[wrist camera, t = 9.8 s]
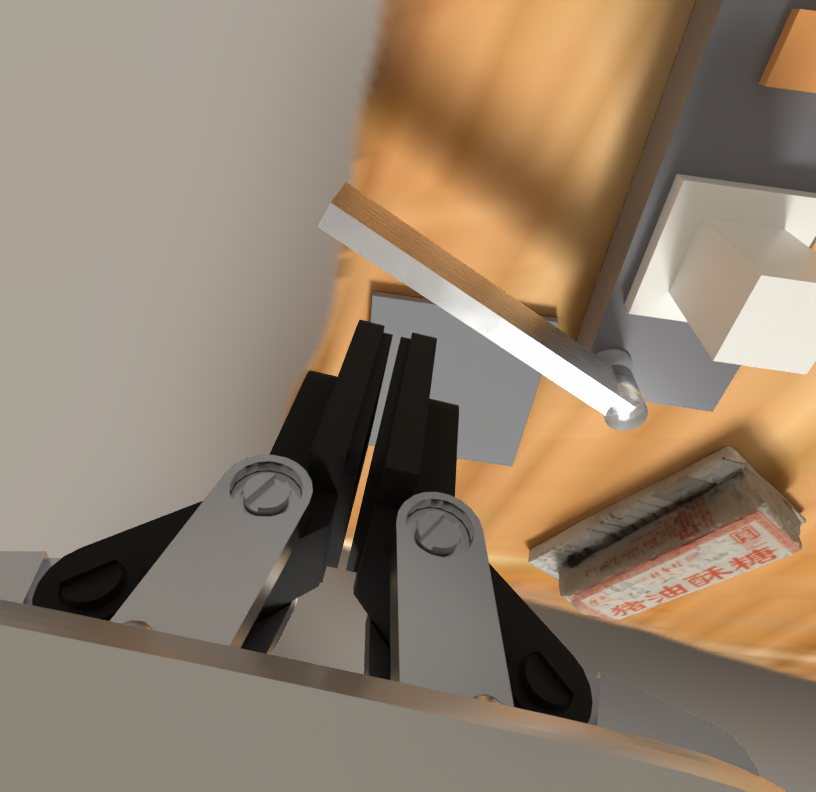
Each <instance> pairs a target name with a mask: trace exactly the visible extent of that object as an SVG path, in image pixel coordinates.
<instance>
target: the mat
mask: <svg viewBox="0 0 816 792" xmlns="http://www.w3.org/2000/svg"><path fill="white" fill-rule="evenodd" d="M539 316H541V317H542V318H544V319H545V320H547V321H548V322H550V323H551V324H552V325H554V326H555V327H557V326H558V323H559V322H558V318H557V317H550V316H543V315H539ZM371 322H372V323H376V324H380V325H384V326H385V328H384V333H388V334H393V337H392V342H391V346H390V351H389V355H388V360H387V364H386V369H385V373H384V378H383V383H382V387H381V392H380V396H379V401H378V405H377V410H376V414H375V419H374V423H373V428H372V432H371V436H370V440H369V444H368V445H372V446H375V444H376V440H377V436H378V431H379V427H380V423H381V419H382V415H383V410H384V406H385V402H386V398H387V393H388V389H389V385H390V381H391V377H392V372H393V368H394V364H395V360H396V355H397V351H398V347H399V343H400V339H401V337H405V338H409V339H411V335H412V332H413V333H418V334H422V335H426V336H430V337H434V338H437V344H436V352H435V359H434V367H433V375H432V382H431V390H430V399H434V400H439V401H443V402H447V403H451V404H456V405H458V406H459V425H458V443H457V458H459V459H465V460H472V461H479V462H485V463H492V464H499V465H505V466H513V462H514V459H515V456H516V453H517V450H518V447H519V444H520V441H521V438H522V435H523V431H524V428H525V425H526V422H527V419H528V416H529V413H530V410H531V407H532V403H533V400H534V397H535V394H536V391H537V388H538V385H539V382H540V379H541V376H542V373H540V372H539V371H537V370H536V369H534V368H532V367H531V366H529V365H528V364H526V363H525V362H523V361H522V360H520V359H519V358H517V357H516V356H514V355H513V354H511V353H510V352H508V351H506V350H505V349H503V348H502V347H500V346H499V345H497V344H496V343H494V342H493V341H491V340H490V339H488V338H487V337H485V336H483V335H482V334H480V333H479V332H477V331H476V330H474V329H473V328H471V327H470V326H468V325H467V324H465V323H464V322H462V321H461V320H459V319H457V318H456V317H454V316H453V315H451V314H450V313H448V312H447V311H445V310H444V309H442V308H441V307H439V306H438V305H436V304H435V303H433V302H431V301H430V300H428V299H425V298H418V297H412V296H405V295H398V294H391V293H384V292H377V291H374V293H373V295H372V309H371Z"/></svg>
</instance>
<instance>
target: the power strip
mask: <svg viewBox="0 0 816 792" xmlns="http://www.w3.org/2000/svg"><path fill="white" fill-rule="evenodd" d="M676 174H681V175H689V176H696V177H703V178H710V179H718V180H725V181H732V182H739V183H747V184H754V185H761V186H769V187H776V188H783V189H790V190H798V191H805V192H812V193H816V0H696V2H695V5H694V8H693V11H692V14H691V17H690V19H689V22H688V25H687V28H686V31H685V34H684V36H683V39H682V42H681V45H680V48H679V50H678V53H677V56H676V59H675V62H674V65H673V67H672V70H671V73H670V76H669V79H668V81H667V84H666V87H665V90H664V93H663V96H662V98H661V101H660V104H659V107H658V110H657V113H656V115H655V118H654V121H653V124H652V127H651V129H650V132H649V135H648V138H647V141H646V144H645V146H644V149H643V152H642V155H641V158H640V161H639V163H638V166H637V169H636V172H635V175H634V177H633V180H632V183H631V186H630V189H629V192H628V194H627V197H626V200H625V203H624V206H623V209H622V211H621V214H620V217H619V220H618V223H617V225H616V228H615V231H614V234H613V237H612V240H611V242H610V245H609V248H608V251H607V254H606V256H605V259H604V262H603V265H602V268H601V271H600V273H599V276H598V279H597V282H596V285H595V288H594V290H593V293H592V296H591V299H590V302H589V304H588V307H587V310H586V313H585V316H584V319H583V321H582V324H581V327H580V330H579V333H578V336H577V338H576V341H577V342H579V343H580V344H581V345H583V346H584V347H586V348H587V349H589V350H590V351H592V352H593V353H594V354H596V355H597V356H599V357H600V358H602V359H603V360H605V361H606V362H608V363H609V364H610V365H623V366H626V367H628V368H629V369H630V370H631V371H632V373H633V375H634V378H635V380H636V383H637V385H638V387H639V390H640V392H641V395H642V397H643V400H644V402H650V403H657V404H664V405H671V406H678V407H684V408H691V409H698V410H705V411H712V412H713V410H714V409H715V407H716V405H717V404H718V402H719V400H720V399H721V397H722V395H723V394H724V392H725V390H726V389H727V387H728V385H729V384H730V382H731V380H732V379H733V377H734V375H735V374H736V372H737V371H738V369H739V367H740V366H741V365H737V364H730V363H724V362H717V361H713V360H712V358H711V357H710V355H709V354H708V352H707V351H706V349H705V348H704V346H703V345H702V343H701V342H700V340H699V338H698V337H697V335H696V334H695V332H694V331H693V329H692V328H691V326H690V325H689V323H688V322H683V321H676V320H669V319H662V318H655V317H648V316H641V315H634V314H629V313H628V311H627V309H626V307H625V305H624V304H625V301H626V299H627V296H628V294H629V291H630V289H631V286H632V284H633V282H634V279H635V277H636V274H637V272H638V269H639V267H640V264H641V262H642V259H643V257H644V254H645V252H646V249H647V247H648V244H649V242H650V239H651V237H652V234H653V232H654V229H655V227H656V224H657V222H658V219H659V217H660V214H661V212H662V209H663V207H664V204H665V202H666V199H667V197H668V194H669V192H670V189H671V187H672V184H673V182H674V179H675V177H676ZM815 241H816V236H815V238H814V240H813V241H812V243H811V245H810V246H809V248H810V249H811V248H812V246H813V245H814V243H815Z"/></svg>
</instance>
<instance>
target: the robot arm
mask: <svg viewBox="0 0 816 792" xmlns="http://www.w3.org/2000/svg"><path fill="white" fill-rule="evenodd" d="M384 328H385V326H384V325H380V324H376V323H372V322H367V321H363V320H359V322H358V325H357V327H356V330H355V333H354V335H353V338H352V341H351V343H350V346H349V349H348V351H347V354H346V357H345V359H344V362H343V364H342V367H341V370H340V372H339V375H338V377H336V376H332V375H328V374H323V373H319V372H315V371H311V370H310V371H309V372H308V373H307V375H306V377H305V379H304V381H303V383H302V386H301V388H300V390H299V392H298V394H297V396H296V399H295V401H294V403H293V405H292V407H291V409H290V411H289V414H288V416H287V418H286V420H285V422H284V424H283V427H282V429H281V431H280V433H279V435H278V437H277V440H276V442H275V444H274V446H273V448H272V451H271V453H270V455H258V456H253V457H250V458H246V459H244V460H242V461H240V462H238V463H236V464H234V465H233V466H232V467H231V468H230V469H229V470H228V471H227V472H226V473H225V474H224V475H223V477H222V478H221V479H220V480H219V482H218V483H217V484H216V486H215V487H214V488H213V489H212V491H211V492H210V493H209V494H208V496H207V497H206V498H205V500H204V501H201V502H199V503H196V504H194V505H191V506H188V507H186V508H183V509H181V510H178V511H175V512H173V513H170V514H168V515H165V516H162V517H160V518H157V519H155V520H152V521H150V522H147V523H144V524H142V525H139V526H137V527H134V528H132V529H129V530H126V531H124V532H121V533H118V534H116V535H113V536H111V537H108V538H106V539H103V540H100V541H98V542H95V543H93V544H90V545H87V546H85V547H82V548H80V549H78V550H76V551H74V552H72V553H70V554H68V555H66V556H64V557H63V558H48V555H47V553H46V552H12V551H11V552H8V551H4V552H3V551H0V792H786V791H785V790H783V789H781V788H779V787H778V786H776V785H774V784H772V783H771V782H769V781H767V780H765V779H763V778H761V777H760V776H759V773H758V770H757V768H756V767H755V765H754V763H753V762H752V760H751V759H750V757H749V755H748V753H747V752H746V751H745V749H744V748H743V747H742V746H741V745H740V744H739V743H738V742H737V741H736V740H735V739H734V738H733V737H732V736H731V735H730V734H728V733H727V732H725V731H724V730H722V729H721V728H719V727H718V726H716V725H715V724H712V723H710V722H708V721H706V720H704V719H701V718H699V717H697V716H695V715H693V714H691V713H688V712H686V711H684V710H682V709H680V708H678V707H675V706H673V705H671V704H669V703H667V702H665V701H662V700H660V699H658V698H656V697H654V696H652V695H649V694H647V693H645V692H643V691H641V690H639V689H636V688H634V687H632V686H630V685H628V684H625V683H623V682H621V681H619V680H617V679H615V678H612V677H610V676H608V675H606V674H604V673H602V672H600V673H599V674H598V675H597V676H596V677H595V676H593V675H590V674H589V673H587V672H585V671H584V670H583V668H582V667H581V666H580V664H579V663H578V661H577V660H576V659H575V657H574V656H573V655H572V654H571V653H570V651H569V650H568V649H567V648H566V647H565V646H564V645H563V644H562V643H561V642H560V641H559V639H558V638H557V637H556V636H555V635H554V634H553V633H552V632H551V631H550V630H549V628H548V627H547V626H546V625H545V624H544V623H543V622H542V621H541V620H540V619H539V617H538V616H537V615H536V614H535V613H534V612H533V611H532V610H531V609H530V608H529V606H528V605H527V604H526V603H525V602H524V601H523V600H522V599H521V598H520V597H519V595H518V594H517V593H516V592H515V591H514V590H513V589H512V588H511V587H510V586H509V585H508V583H507V582H506V581H505V580H504V579H503V578H502V577H501V576H500V575H499V574H498V572H497V571H496V570H495V569H494V568H493V567H492V566H491V565H490V564H489V562H488V556H487V550H486V545H485V539H484V533H483V529H482V526H481V523H480V521H479V519H478V517H477V516H476V515H475V513H474V512H473V510H472V509H471V508H470V507H468V506H467V505H466V504H465V503H464V502H462V501H461V500H459V499H457V498H455V481H456V462H457V443H458V425H459V406H458V405H456V404H451V403H447V402H443V401H439V400H434V399H430V390H431V382H432V375H433V367H434V359H435V352H436V344H437V338H434V337H430V336H426V335H422V334H418V333H413V332H412V335H411V339H409V338H405V337H401V339H400V343H399V347H398V351H397V355H396V360H395V364H394V368H393V372H392V377H391V381H390V385H389V389H388V393H387V398H386V402H385V406H384V410H383V415H382V419H381V423H380V427H379V431H378V436H377V440H376V444H375V448H374V452H373V457H372V461H371V465H370V470H369V474H368V478H367V482H366V487H365V491H364V495H363V500H362V504H361V508H360V513H359V517H358V521H357V525H356V530H355V534H354V538H353V543H352V547H351V551H350V556H349V560H348V565H347V569H346V570H348V571H352V572H356V573H357V575H356V579H355V584H354V588H353V589H354V595H355V597H356V598H357V599H358V601H359V602H360V604H361V605H362V606H363V608H364V609H365V611H366V612H367V617H366V622H365V654H364V675H363V674H358V673H353V672H349V671H344V670H339V669H335V668H330V667H325V666H321V665H316V664H311V663H307V662H301V661H297V660H292V659H288V658H282V657H278V656H274V655H272V654H273V653H274V650H275V648H276V646H277V644H278V642H279V640H280V638H281V636H282V634H283V632H284V630H285V628H286V626H287V623H288V621H289V619H290V617H291V615H292V613H293V611H294V609H295V606H296V603H297V600H298V597H300V596H302V595H303V594H305V593H307V592H309V591H311V590H312V589H314V588H316V587H318V586H319V584H320V582H322V581H323V577H324V573H325V570H326V566H329V567H333V568H337V567H338V563H339V559H340V555H341V551H342V547H343V543H344V539H345V536H346V532H347V528H348V524H349V520H350V516H351V512H352V508H353V504H354V500H355V496H356V492H357V488H358V484H359V480H360V476H361V472H362V468H363V464H364V460H365V456H366V452H367V448H368V444H369V440H370V436H371V432H372V428H373V423H374V419H375V414H376V410H377V405H378V401H379V396H380V392H381V387H382V383H383V378H384V373H385V369H386V364H387V360H388V355H389V351H390V346H391V342H392V337H393V334H388V333H384Z"/></svg>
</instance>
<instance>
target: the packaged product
mask: <svg viewBox="0 0 816 792" xmlns="http://www.w3.org/2000/svg"><path fill="white" fill-rule="evenodd" d="M805 522H806V519H805V518H804V517H803V516H802V515H801V514H800V513H799V512H798V511H797V510H796V509H795V508H794V506H793V505H792V504H791V503H790V502H789V501H788V500H787V499H786V498H785V497H784V496H783V495H782V494H781V493H780V492H779V491H778V490H777V489H775V488H774V487H773V486H772V485H771V484H770V483H769V482H767V481H766V480H765V479H764V478H763V477H761V476H760V475H759V474H758V473H757V471H756V470H755V469H754V468H753V467H752V466H751V465H750V464H749V463H748V462H747V461H746V460H745V459H744V458H743V457H742V456H741V455H740V454H739V453H738V452H737V451H736V450H735V449H733V448H732V447H731V446H726V447H724V448H722V449H720V450H718V451H716V452H714V453H712V454H711V455H709V456H707V457H705V458H703V459H701V460H699V461H698V462H696V463H694V464H692V465H690V466H689V467H687V468H684V469H682V470H680V471H678V472H676V473H674V474H672V475H670V476H668V477H666V478H664V479H662V480H660V481H658V482H656V483H654V484H651V485H649V486H647V487H646V488H644V489H642V490H640V491H638V492H636V493H634V494H632V495H630V496H628V497H626V498H624V499H623V500H621V501H619V502H617V503H615V504H613V505H611V506H609V507H607V508H605V509H603V510H601V511H599V512H597V513H595V514H593V515H592V516H590V517H588V518H586V519H584V520H582V521H580V522H578V523H577V524H575V525H573V526H571V527H570V528H568V529H566V530H564V531H562V532H561V533H559V534H557V535H555V536H554V537H552V538H550V539H548V540H546V541H545V542H543V543H541V544H539V545H537V546H536V547H534V548H533V549H531V550H530V551H529V560H528V562H529V563H531V564H532V565H534V566H535V567H537V568H538V569H540V570H542V571H544V572H545V573H547V574H548V575H550V576H552V577H553V578H555V579H557V580H559V589H560V593H561V596H564V598H565V599H566V600H567V601H569V602H570V603H571V604H572V605H573V606H574V607H575V608H576V609H577V610H578V611H579V612H581V613H583V614H587V615H588V614H590V615H592V616H596V617H601V618H602V619H603V620H611V621H615V620H619V619H623V618H625V617H628V616H631V615H634V614H637V613H639V612H642V611H644V610H647V609H649V608H651V607H654V606H658V605H660V604H662V603H665V602H668V601H670V600H673V599H675V598H678V597H681V596H683V595H686V594H689V593H691V592H694V591H698V590H700V589H702V588H705V587H707V586H709V585H713V584H716V583H719V582H721V581H724V580H727V579H729V578H732V577H735V576H737V575H740V574H742V573H744V572H747V571H750V570H752V569H755V568H758V567H762V566H764V565H766V564H768V563H770V562H774V561H776V560H779V559H783V558H787V557H788V556H791V555H793V554H794V553H796V552H798V551H800V550H801V549H802V544H801V541H800V538H799V535H800V525H801V524H803V523H805Z"/></svg>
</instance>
